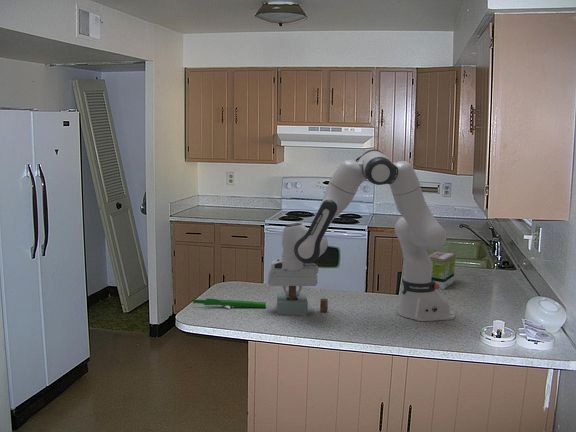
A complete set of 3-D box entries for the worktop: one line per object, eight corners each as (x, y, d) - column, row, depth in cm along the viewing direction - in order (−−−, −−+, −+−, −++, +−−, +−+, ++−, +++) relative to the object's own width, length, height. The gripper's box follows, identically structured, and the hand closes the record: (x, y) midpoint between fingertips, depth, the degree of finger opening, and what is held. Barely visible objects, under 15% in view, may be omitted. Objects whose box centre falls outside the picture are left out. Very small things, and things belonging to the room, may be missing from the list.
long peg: (295, 306, 249) (296, 281, 247) (295, 309, 246) (296, 283, 244) (288, 306, 249) (288, 281, 247) (288, 309, 246) (288, 282, 244)
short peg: (327, 310, 249) (327, 298, 248) (327, 312, 246) (328, 300, 245) (319, 310, 248) (320, 298, 248) (320, 312, 245) (320, 300, 245)
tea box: (444, 290, 281) (446, 259, 278) (423, 286, 286) (425, 256, 283) (454, 282, 293) (455, 253, 291) (433, 279, 298) (435, 250, 296)
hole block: (305, 305, 254) (305, 294, 253) (307, 315, 242) (307, 303, 241) (277, 305, 253) (277, 294, 252) (277, 315, 241) (277, 303, 241)
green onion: (265, 308, 253) (193, 304, 252) (265, 300, 252) (193, 296, 251) (265, 312, 248) (191, 307, 247) (265, 304, 247) (192, 300, 246)
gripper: (317, 261, 248) (317, 293, 250) (267, 261, 247) (267, 293, 249) (319, 264, 242) (318, 298, 244) (267, 264, 241) (267, 298, 243)
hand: (292, 296), depth 247 cm, fingers closed on long peg, 3 cm apart
